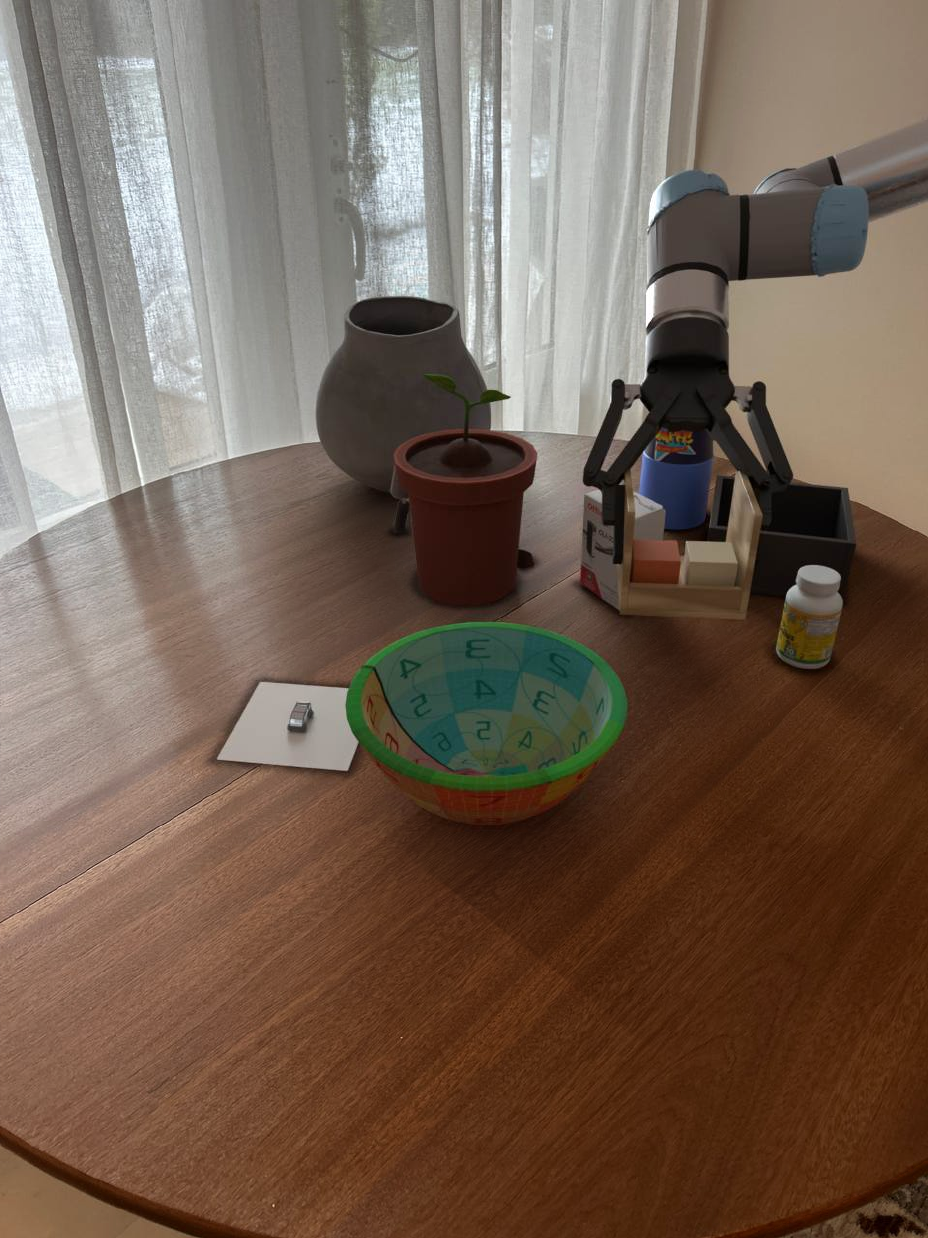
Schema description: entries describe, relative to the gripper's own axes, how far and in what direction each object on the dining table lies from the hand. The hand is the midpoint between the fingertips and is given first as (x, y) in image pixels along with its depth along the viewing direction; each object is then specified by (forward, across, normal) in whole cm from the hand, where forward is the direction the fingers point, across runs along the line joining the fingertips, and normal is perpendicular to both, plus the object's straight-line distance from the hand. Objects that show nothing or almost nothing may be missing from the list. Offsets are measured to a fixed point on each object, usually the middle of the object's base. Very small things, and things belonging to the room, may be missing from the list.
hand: (684, 562), depth 81 cm
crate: (+1, 0, -5) cm, 5 cm away
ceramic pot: (-25, +34, -46) cm, 62 cm away
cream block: (+2, -2, -4) cm, 5 cm away
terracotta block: (+2, +2, -4) cm, 5 cm away
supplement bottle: (+4, -14, -18) cm, 23 cm away
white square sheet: (+15, +34, -6) cm, 38 cm away
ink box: (-4, +4, -26) cm, 26 cm away
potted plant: (-7, +23, -29) cm, 37 cm away
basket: (-10, -15, -32) cm, 37 cm away
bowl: (+21, +16, -1) cm, 26 cm away
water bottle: (-19, -4, -41) cm, 46 cm away
